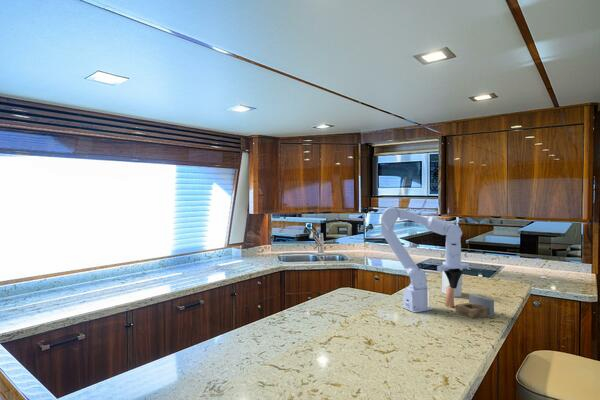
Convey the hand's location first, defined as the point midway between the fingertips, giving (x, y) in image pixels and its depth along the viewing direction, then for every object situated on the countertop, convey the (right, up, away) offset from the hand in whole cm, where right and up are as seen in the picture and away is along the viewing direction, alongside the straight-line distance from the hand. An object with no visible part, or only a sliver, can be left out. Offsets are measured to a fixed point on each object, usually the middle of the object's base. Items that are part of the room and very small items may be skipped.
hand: (453, 287), depth 145 cm
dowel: (+1, -9, +6) cm, 11 cm away
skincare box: (+9, -9, +23) cm, 27 cm away
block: (+5, -9, -4) cm, 12 cm away
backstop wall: (+10, -9, -2) cm, 14 cm away
